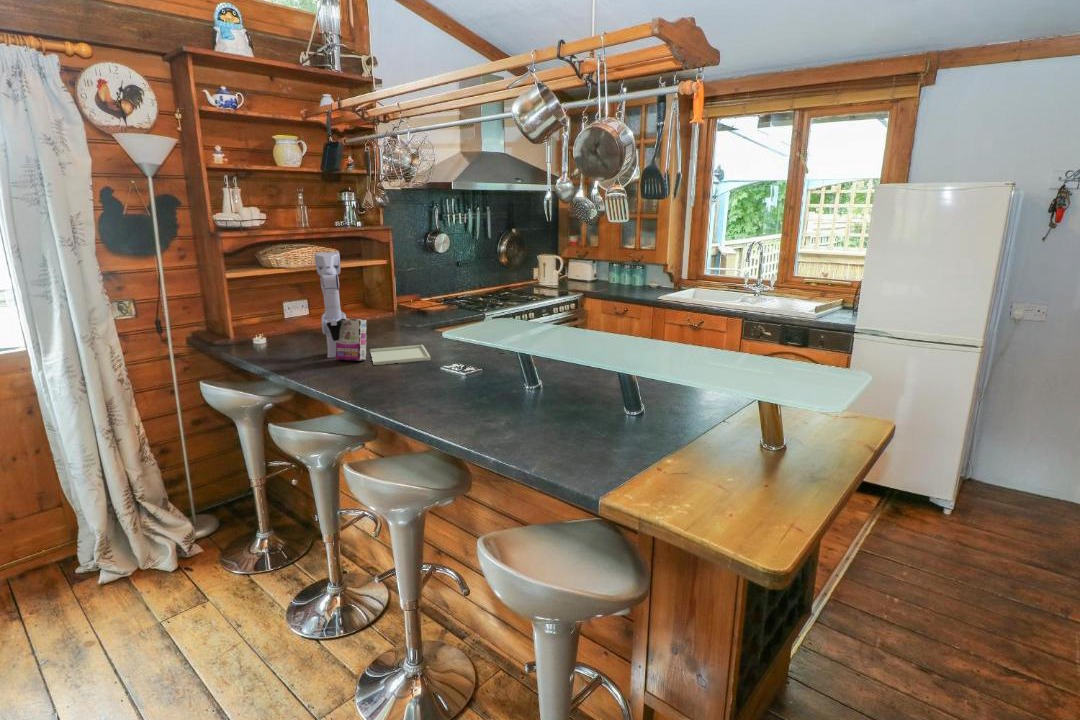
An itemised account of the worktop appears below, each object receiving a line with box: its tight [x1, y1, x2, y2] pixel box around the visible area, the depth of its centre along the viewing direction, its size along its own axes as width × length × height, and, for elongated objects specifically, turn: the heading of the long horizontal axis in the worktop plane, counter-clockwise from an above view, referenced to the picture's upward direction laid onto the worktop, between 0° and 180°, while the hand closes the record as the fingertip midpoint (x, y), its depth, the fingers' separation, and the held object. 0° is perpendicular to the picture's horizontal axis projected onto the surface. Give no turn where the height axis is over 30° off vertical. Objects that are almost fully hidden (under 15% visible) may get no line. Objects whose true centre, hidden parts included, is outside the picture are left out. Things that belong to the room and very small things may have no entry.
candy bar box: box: [335, 318, 368, 362], centre depth 234 cm, size 11×5×16 cm, turn 73°
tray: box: [369, 344, 432, 366], centre depth 241 cm, size 22×22×2 cm
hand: (336, 340), depth 231 cm, fingers closed
